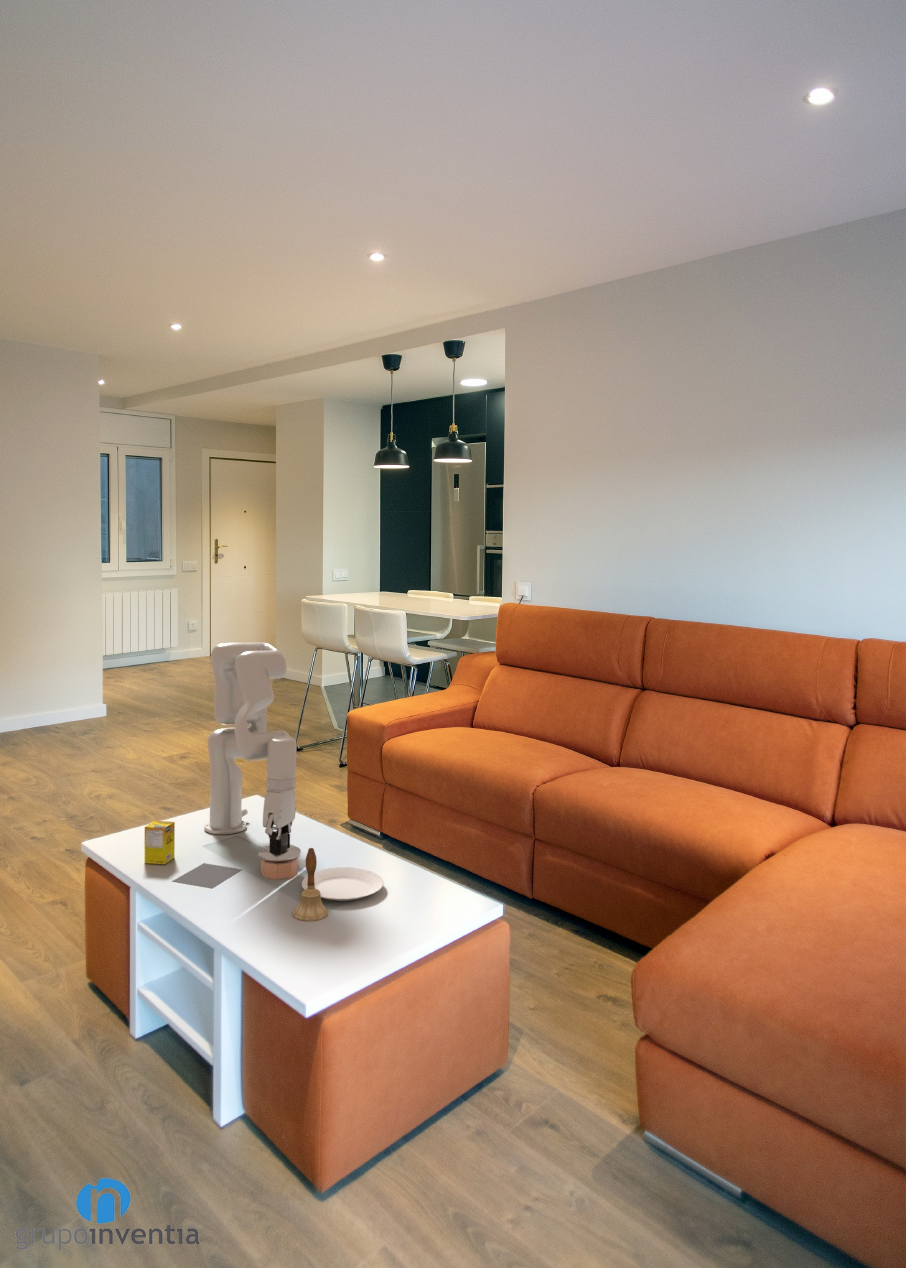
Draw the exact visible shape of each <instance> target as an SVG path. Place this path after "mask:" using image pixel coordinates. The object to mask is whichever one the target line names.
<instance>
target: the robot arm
mask: <svg viewBox="0 0 906 1268" xmlns="http://www.w3.org/2000/svg"><path fill="white" fill-rule="evenodd" d="M210 665H211V668H212V672H213V675H214V681H215V684H214V706H213V709H214V710H213V714H214V716H213V717H214V720H215V722H217V724H219V725H223V726H230V725H231V726H233V725H234V727H226V728H225V727H224V728H223V727H222V728H219V729H218V728H217V729H216V730H213V731H211V732H210V734H209V735H208V737H207V749H208V756H209V765H210V766H209V767H210V768H209V769H210V773H209V774H210V776H209V779H210V780H209V821H208V822H206V823H205V824H204V825H203V826H204V831H205V832H207V833H210V834H213V835H233V834H237V833H240V832H242V831H244V830H246V829H247V823H246V822H245V821H244V820H243V817H244V816H246V815H248V810H247V809H246V808H243V809H242V801H243V799H242V796H243V795H242V791H243V772H242V770H241V768H240V766H239V765H238V764H237V763H236V761H235V760H236V759H241V758H242V759H243V760H246V761H249V762H250V761H251V762H252V761H253V762H254V761H263V760H266V763H267V764H266V792H265V795H264V803H263V811H262V827H264V828H265V831H264V833H265V834H267V836H268V839H269V846H270V849H269V852H270V853H274V854H281V839H280V834H281V831H286V832H288V844H287V849H288V848H290V845H291V833H292V825H293V823H294V820H295V818H296V813H297V812H296V810H297V809H296V808H297V807H296V805H297V804H296V803H297V802H296V785H297V784H296V782H297V780H296V778H297V777H296V774H297V741H296V739H295V738H294V737H292V736H290V734H289V733H288V732H287V731H285V730H267V720H268V707H269V706H270V705H271V704H272V703H273V701H274V700H275V694H274V689H273V687H272V683H271V680H280V679H282V678H283V677H285V675H286V673H287V661H286V658H285V655H284V654H283V652H281V651H280V650H279V649H277V648H276V647H275V646H273V645H271V644H270V643H267V642H262V641H261V642H258V641H257V642H225V643H219V644H216V645H215V646H214V647H213V648H212V650H211V653H210ZM275 831H277V833H276V832H275Z"/></svg>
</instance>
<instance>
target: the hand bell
mask: <svg viewBox="0 0 906 1268" xmlns="http://www.w3.org/2000/svg"><path fill="white" fill-rule="evenodd" d="M317 863H318V862H317V855H316V851H315V848H314V847H310V848H308V849H307V853H306V857H305V869H306V872H307V873H306V874H307V876H308V883H307V885H308V887H307V889H305V890H304V889H303V890H302V892H301V895H300V901H299V904H298V906H297V907H296V908H295V909H294V910H293V912H292V916H293V917H294V919H296V920H299V921H303V922H315V921H320V920H322V919H324V918H326V917H327V916H328V915H329V911H328V909H327V908H326V907H325V905H324V904H323V901H322V898H321V894H320V891H319V890H318V889H315V883H314V873H315V872H316V868H317Z"/></svg>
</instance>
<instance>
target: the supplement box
mask: <svg viewBox="0 0 906 1268" xmlns="http://www.w3.org/2000/svg"><path fill="white" fill-rule="evenodd" d="M175 824H176V823H175V821H167V820H165V821H164V820H153V821H152V822H150V823H148V824H146V825H145V826H144V864H145V865H153V866H166V865H168V864H169V863H170V862H171V861H173V860H174V859H175V848H176V847H175V846H176V844H175V834H176V833H175V826H176V825H175Z"/></svg>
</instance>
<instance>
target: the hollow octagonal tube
mask: <svg viewBox="0 0 906 1268" xmlns="http://www.w3.org/2000/svg"><path fill="white" fill-rule="evenodd" d="M298 867H299V857H297V858H295V859H293V860H289V861H281V862H273V861H266V860H263V859H261V858H260V873H261V875H262V876H263V878H268V879H272V880H282V879H283V880H284V879H288V880H292V879H293V878H295V877H296V876H298V874H299V868H298Z"/></svg>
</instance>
